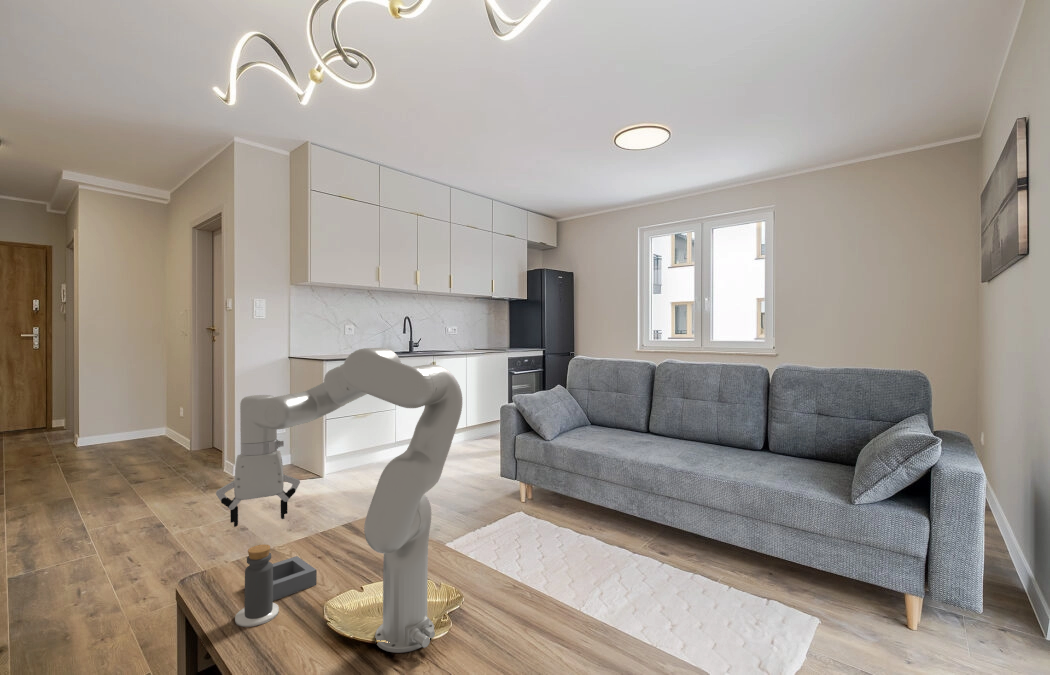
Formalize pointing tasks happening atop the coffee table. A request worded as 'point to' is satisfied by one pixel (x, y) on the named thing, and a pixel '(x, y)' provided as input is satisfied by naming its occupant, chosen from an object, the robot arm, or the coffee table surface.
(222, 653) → the coffee table surface
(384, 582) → the robot arm
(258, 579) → the bottle
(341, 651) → the coffee table surface
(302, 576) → the square frame
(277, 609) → the white round part
